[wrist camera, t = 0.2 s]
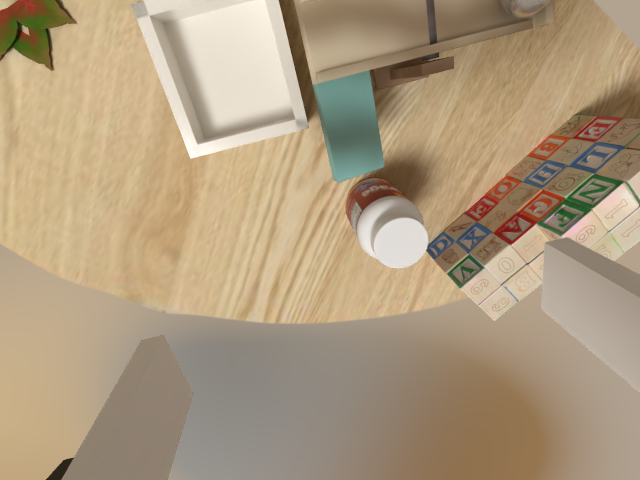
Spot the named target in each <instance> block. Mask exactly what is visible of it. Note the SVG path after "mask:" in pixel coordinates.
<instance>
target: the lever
mask: <svg viewBox="0 0 640 480" xmlns="http://www.w3.org/2000/svg"><path fill="white" fill-rule="evenodd" d="M294 3H295V7H296V12H297V16H298V21H299V25H300V30H301V34H302V39H303V43H304V48H305V52H306V57H307V61H308V66H309V71H310V75H311V80H312V84H313V89H314V93H315V98H316V102H317V107H318V111H319V116H320V120H321V125H322V129H323V134H324V138H325V143H326V147H327V152H328V156H329V161H330V165H331V170H332V174H333V179H334V181H337V182H342V181H345V180H348V179H350V178H353V177H356V176H359V175H362V174H365V173H368V172H371V171H374V170H377V169H380V168H383V167H385V166H384V160H383V153H382V147H381V140H380V134H379V128H378V121H377V115H376V109H375V102H374V96H373V90H372V83H371V77H370V70H372V69H376V68H380V67H384V66H387V65H391V64H395V63H399V62H403V61H407V60H411V59H415V58H418V57H422V61H424V60H428V59H432V58H436V57H439V52H442V51H446V50H449V49H453V48H457V47H461V46H465V45H469V44H473V43H476V42H480V41H484V40H488V39H492V38H496V37H500V36H504V35H507V34H511V33H515V32H519V31H523V30H527V29H531V28H535V27H538V26H542V25H546V24H550V23H554V3H555V0H550V2H549V3H548V4H547V5H546V6H545V7H544V8H543V9H542V10H541V11H539V12H538V13H536V14H534V15H532V16H529V17H525V18H515V17H512V16H510V15H508V14H507V13H506V12H505V11H504V10H503V8H502V6H501V4H500V0H294Z"/></svg>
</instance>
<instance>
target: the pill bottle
mask: <svg viewBox="0 0 640 480" xmlns="http://www.w3.org/2000/svg"><path fill="white" fill-rule="evenodd" d="M345 209H346V214H347V217H348V219H349V221H350V223H351V226H352V228H353V230H354V232H355V234H356V236H357V239H358V241H359V243H360V245H361V246H362V248H363V249H364V251H365V252H366V253H368V254H369V255H370V256H372V257H374V258H376V259H378V260H379V261H380V262H381V263H382V264H384V265H386V266H388V267H391V268H404V267H408V266H410V265H412V264H414V263H416V262H417V261H418V260H419V259H420V258H421V257H422V256H423V255H424V253H425V251H426V249H427V246H428V233H427V230H426V229H425V227H424V222H423V217H422V215H421V213H420V211H419V210H418V208H417V207H416V206H415V205H414V204H413V203H412V202H411V201H410V200H409V199H408V198H406V197H405V196H404V195H403V194H402V193H401V192H400V191H399V190H398V189H397V188H395V187H394V186H393V185H392V184H391V183H389V182H388V181H386V180H383V179H379V178H371V179H367V180H364V181H361V182H360V183H358V184H357V185H355V186H354V187H353V188H352V190H351V191H350V192H349V194H348V196H347V199H346V205H345Z"/></svg>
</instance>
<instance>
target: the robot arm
mask: <svg viewBox="0 0 640 480" xmlns="http://www.w3.org/2000/svg"><path fill="white" fill-rule="evenodd" d="M541 309H542V310H543V311H544V312H545V313H547V314H548V315H549V316H550V317H551V318H552V319H554V320H555V321H556V322H557V323H558V324H560V325H561V326H562V327H563V328H564V329H565V330H566V331H568V332H569V333H570V334H571V335H572V336H574V337H575V338H576V339H577V340H578V341H579V342H581V343H582V344H583V345H584V346H585V347H586V348H588V349H589V350H590V351H591V352H592V353H594V354H595V355H596V356H597V357H598V358H600V359H601V360H602V361H603V362H604V363H605V364H607V365H608V366H609V367H610V368H611V369H612V370H614V371H615V372H616V373H617V374H618V375H619V376H621V377H622V378H623V379H624V380H626V381H627V382H628V383H629V384H630V385H631V386H633V387H634V388H635V389H636V390H637V391H639V392H640V275H639V274H637V273H635V272H633V271H632V270H630V269H628V268H626V267H624V266H622V265H620V264H618V263H616V262H614V261H612V260H610V259H608V258H606V257H604V256H603V255H601V254H599V253H597V252H595V251H593V250H591V249H589V248H587V247H585V246H583V245H581V244H579V243H577V242H575V241H573V240H572V239H570V238H568V237H566V238H562V239H557V240H553V241H549V242H545V247H544V266H543V287H542V305H541ZM192 397H193V391H192V389H191V387H190V385H189V383H188V381H187V379H186V377H185V375H184V374H183V372H182V370H181V368H180V366H179V364H178V362H177V360H176V358H175V356H174V354H173V352H172V350H171V348H170V346H169V344H168V342H167V340H166V338H165V336H164V335H161V336H157V337H153V338H148V339H144V340H141V342H140V344H139V345H138V347H137V349H136V351H135V353H134V354H133V356H132V358H131V360H130V361H129V363H128V365H127V366H126V368H125V370H124V372H123V373H122V375H121V377H120V379H119V381H118V382H117V384H116V386H115V387H114V389H113V391H112V392H111V394H110V396H109V398H108V399H107V401H106V403H105V405H104V407H103V408H102V410H101V412H100V413H99V415H98V417H97V419H96V420H95V422H94V424H93V426H92V428H91V429H90V431H89V433H88V434H87V436H86V438H85V440H84V441H83V443H82V445H81V447H80V448H79V450H78V452H77V453H76V455H75V457H74V458H70V459H66V460H63V461H62V463H61V464H60V465H59V466H58V467H57V468H56V469H55V470H54V471H53V472H52V474H51V475H50V476H49V477H48V478H47V479H46V480H168V477H169V473H170V470H171V467H172V463H173V460H174V457H175V453H176V450H177V447H178V444H179V440H180V437H181V434H182V430H183V427H184V424H185V420H186V417H187V413H188V410H189V407H190V404H191V400H192Z"/></svg>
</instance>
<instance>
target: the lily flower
mask: <svg viewBox="0 0 640 480" xmlns="http://www.w3.org/2000/svg"><path fill="white" fill-rule="evenodd" d="M17 21H18V22H19V23H20V24H22V25H23V26H25V27H28V29H29V35H30V36H29V35H27V34H25V33H24V32H22V31H21V30H19V29H17ZM66 22H67V23H68V24H72V23H75V22H74V21H73V20H72V19H70V17H69V16H68V15H67V14H66V13H65V11H64V10H63V9H60V7H59V5H58V3H57V2H56V1H55V0H18V1H16V2H15V3H14V4H12V5H11V6H10V7H8V8H6V9H3V10H1V11H0V58H1V55H4V53H5V52H6V50H7V49H8V48H9V47H10V46H11V45H12V46H13V47H14V48H15V49H16V50H17V51H18V52H19V53H21V54H22V55H24V56H26V57H27V58H29V59H31V60H33V61H35V62H37V63H39V64H45V66H46V67H47V68H49V69H50V70H51V71H52V68H51V65H50V64H51V63H50V56H49V54H48V53H49V44H48V38H47V33H46V28H53V27H58V26H62V25H64V24H65V23H66Z"/></svg>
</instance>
